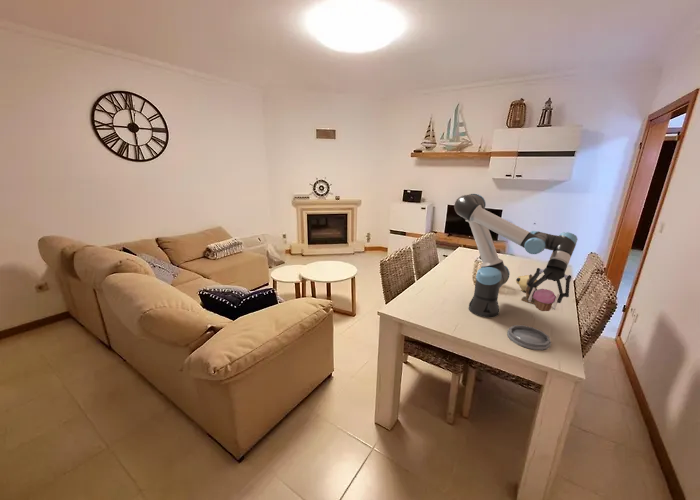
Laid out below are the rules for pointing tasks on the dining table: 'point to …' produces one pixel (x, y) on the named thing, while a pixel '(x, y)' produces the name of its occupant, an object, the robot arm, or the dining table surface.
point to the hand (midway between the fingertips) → (541, 304)
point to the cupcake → (544, 299)
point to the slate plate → (529, 337)
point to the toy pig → (523, 282)
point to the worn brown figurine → (528, 292)
